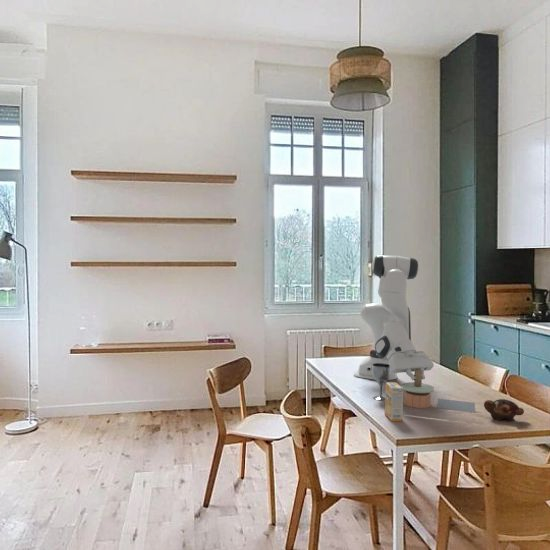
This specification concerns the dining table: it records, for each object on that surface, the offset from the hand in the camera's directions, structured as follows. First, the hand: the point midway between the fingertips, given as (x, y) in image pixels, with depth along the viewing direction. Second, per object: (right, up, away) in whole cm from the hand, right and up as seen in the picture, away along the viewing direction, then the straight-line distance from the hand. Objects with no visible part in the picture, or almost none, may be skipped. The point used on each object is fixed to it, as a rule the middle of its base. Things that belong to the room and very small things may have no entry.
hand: (418, 379), depth 209 cm
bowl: (-1, -11, +1) cm, 11 cm away
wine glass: (-14, -11, +10) cm, 21 cm away
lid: (0, -4, +1) cm, 4 cm away
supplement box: (-15, -12, -17) cm, 25 cm away
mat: (+16, -12, 0) cm, 20 cm away
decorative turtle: (+28, -13, -16) cm, 35 cm away
